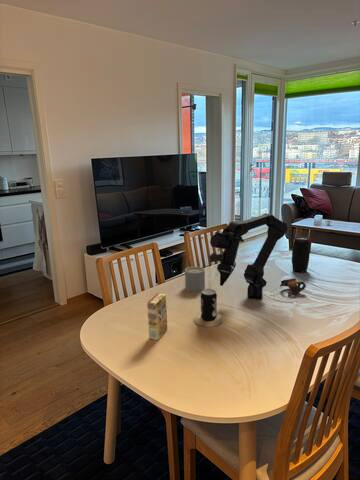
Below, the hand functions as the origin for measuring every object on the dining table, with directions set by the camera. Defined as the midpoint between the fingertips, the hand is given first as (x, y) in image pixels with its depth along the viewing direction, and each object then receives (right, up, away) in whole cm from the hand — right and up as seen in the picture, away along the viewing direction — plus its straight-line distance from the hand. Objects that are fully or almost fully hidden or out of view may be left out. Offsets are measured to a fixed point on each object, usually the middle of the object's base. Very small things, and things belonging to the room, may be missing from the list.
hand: (222, 283), depth 160 cm
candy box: (-27, -17, -20) cm, 38 cm away
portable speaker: (+50, +2, +45) cm, 67 cm away
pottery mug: (+36, -6, +16) cm, 40 cm away
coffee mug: (-10, -5, +25) cm, 27 cm away
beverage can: (-7, -13, -10) cm, 18 cm away
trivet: (-7, -14, -10) cm, 19 cm away
